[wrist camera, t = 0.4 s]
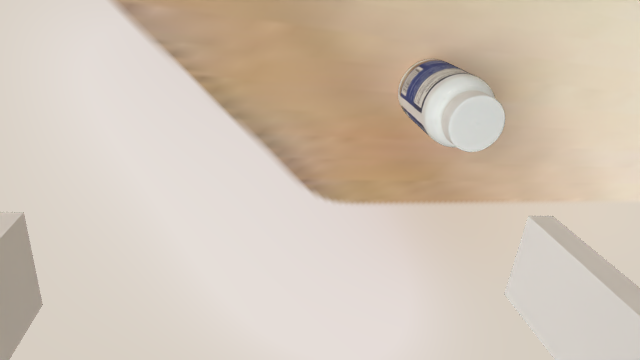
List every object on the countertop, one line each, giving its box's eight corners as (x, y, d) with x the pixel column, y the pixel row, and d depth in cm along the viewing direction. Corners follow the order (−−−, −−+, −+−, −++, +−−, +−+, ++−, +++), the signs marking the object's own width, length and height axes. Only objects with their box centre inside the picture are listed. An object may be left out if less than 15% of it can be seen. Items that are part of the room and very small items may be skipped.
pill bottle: (461, 109, 41) (519, 148, 32) (403, 127, 41) (445, 171, 32) (452, 48, 38) (512, 73, 30) (390, 68, 38) (432, 98, 30)
